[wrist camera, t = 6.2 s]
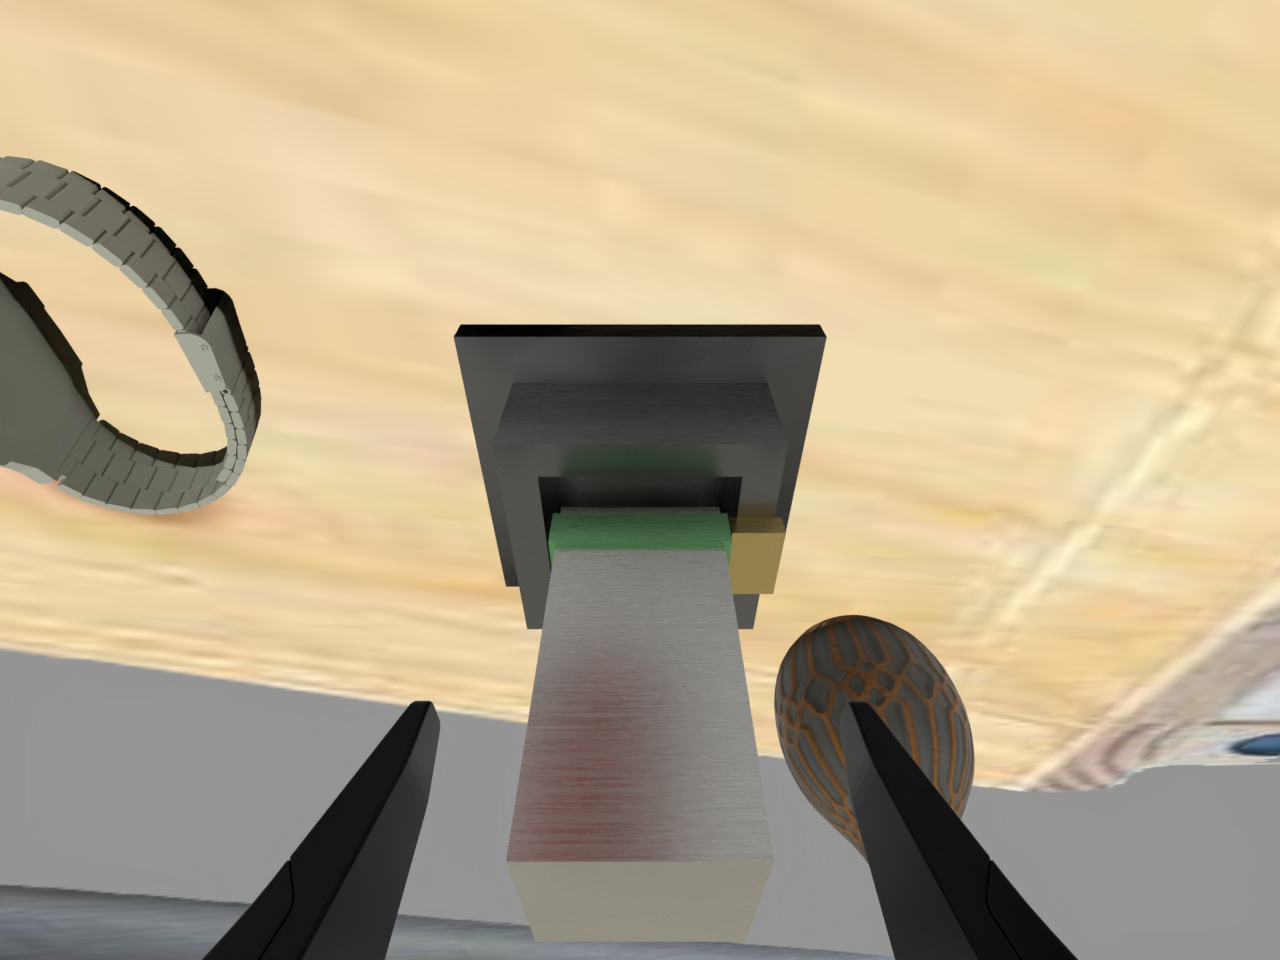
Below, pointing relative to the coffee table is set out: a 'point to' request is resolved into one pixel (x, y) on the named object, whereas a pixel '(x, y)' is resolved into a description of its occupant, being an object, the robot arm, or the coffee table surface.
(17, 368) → the wristwatch
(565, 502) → the stand base
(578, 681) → the post
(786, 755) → the vase
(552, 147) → the coffee table surface
